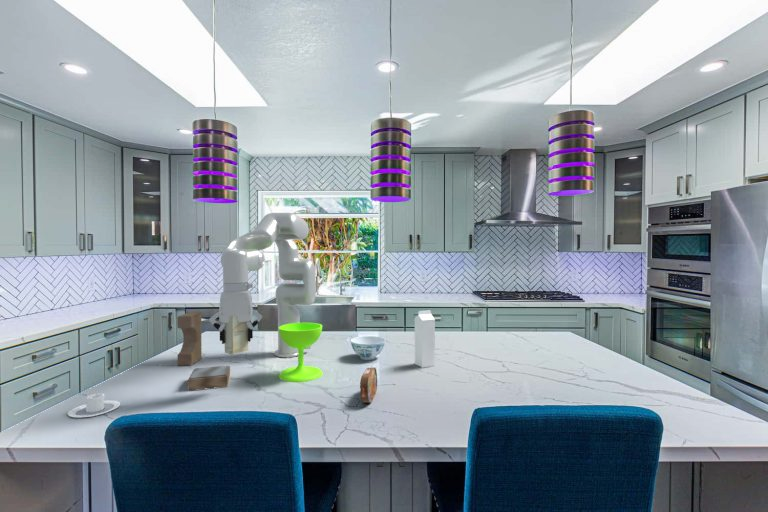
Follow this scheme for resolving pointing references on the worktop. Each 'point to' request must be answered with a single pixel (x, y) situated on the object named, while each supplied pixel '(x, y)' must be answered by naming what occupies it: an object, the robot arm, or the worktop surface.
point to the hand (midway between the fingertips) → (236, 341)
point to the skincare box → (236, 336)
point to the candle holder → (94, 405)
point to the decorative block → (190, 338)
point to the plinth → (209, 377)
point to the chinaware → (368, 346)
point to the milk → (424, 339)
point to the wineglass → (300, 349)
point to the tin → (368, 385)
